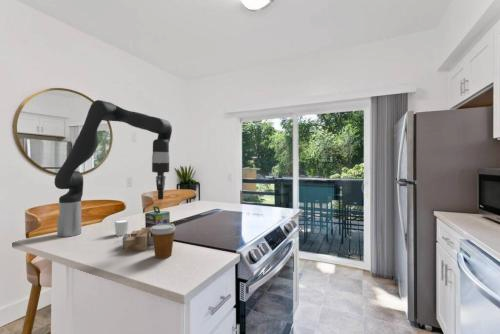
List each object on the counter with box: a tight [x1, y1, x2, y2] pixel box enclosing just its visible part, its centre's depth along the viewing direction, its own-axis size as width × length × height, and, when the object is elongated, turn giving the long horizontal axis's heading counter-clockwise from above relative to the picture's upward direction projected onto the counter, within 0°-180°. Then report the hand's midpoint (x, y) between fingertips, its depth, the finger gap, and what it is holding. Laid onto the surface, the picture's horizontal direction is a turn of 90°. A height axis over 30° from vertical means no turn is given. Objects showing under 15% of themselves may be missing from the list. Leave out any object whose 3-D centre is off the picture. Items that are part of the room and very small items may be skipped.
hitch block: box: [124, 227, 152, 253], centre depth 108 cm, size 8×15×6 cm, turn 15°
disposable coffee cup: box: [151, 223, 176, 259], centre depth 96 cm, size 10×10×12 cm
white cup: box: [114, 219, 130, 237], centre depth 125 cm, size 7×7×7 cm
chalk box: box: [144, 205, 171, 237], centre depth 127 cm, size 9×9×15 cm
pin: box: [122, 233, 154, 250], centre depth 108 cm, size 13×6×5 cm, turn 108°
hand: (160, 199), depth 110 cm, fingers closed
